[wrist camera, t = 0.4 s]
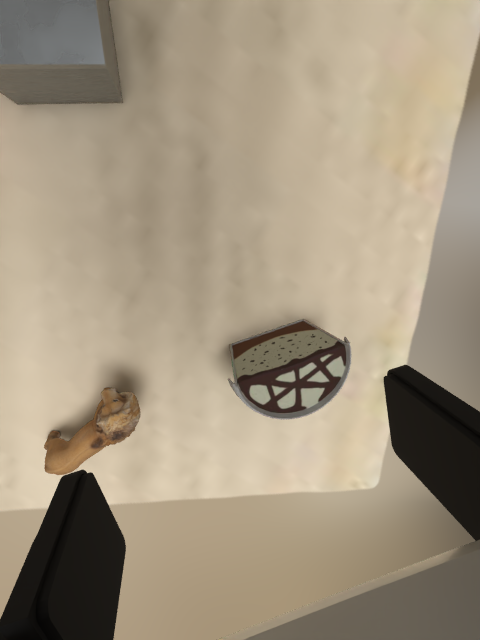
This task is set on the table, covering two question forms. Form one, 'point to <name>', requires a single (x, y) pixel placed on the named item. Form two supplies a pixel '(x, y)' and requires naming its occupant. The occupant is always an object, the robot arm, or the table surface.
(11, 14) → the box
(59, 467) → the lion figurine
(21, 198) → the table surface
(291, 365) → the food container
